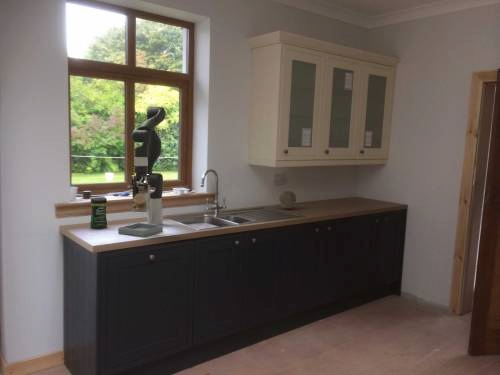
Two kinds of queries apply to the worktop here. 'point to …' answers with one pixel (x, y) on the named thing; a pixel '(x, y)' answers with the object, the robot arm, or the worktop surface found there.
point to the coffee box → (141, 198)
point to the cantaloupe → (287, 199)
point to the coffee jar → (98, 212)
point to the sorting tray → (140, 229)
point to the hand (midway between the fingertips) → (141, 192)
